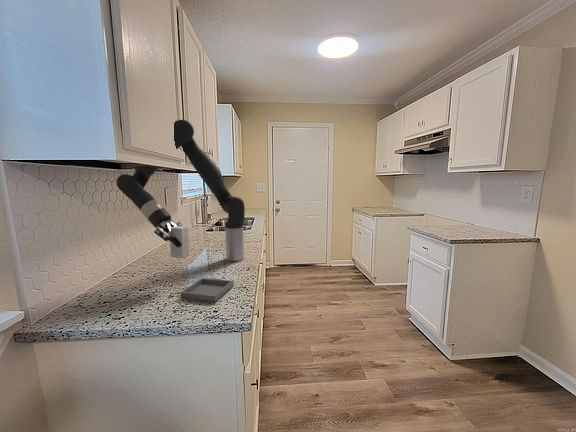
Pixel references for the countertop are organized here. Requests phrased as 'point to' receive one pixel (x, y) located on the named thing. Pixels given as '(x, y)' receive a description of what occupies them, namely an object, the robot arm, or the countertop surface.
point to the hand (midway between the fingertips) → (183, 244)
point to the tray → (207, 290)
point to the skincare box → (183, 237)
